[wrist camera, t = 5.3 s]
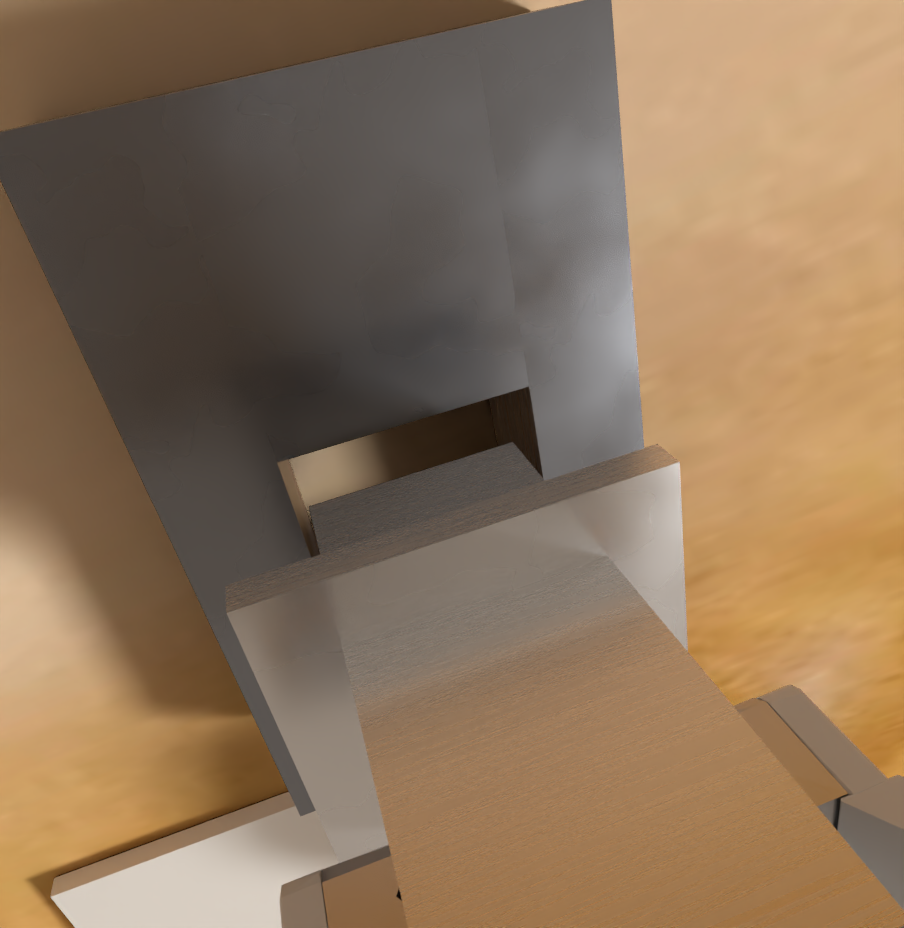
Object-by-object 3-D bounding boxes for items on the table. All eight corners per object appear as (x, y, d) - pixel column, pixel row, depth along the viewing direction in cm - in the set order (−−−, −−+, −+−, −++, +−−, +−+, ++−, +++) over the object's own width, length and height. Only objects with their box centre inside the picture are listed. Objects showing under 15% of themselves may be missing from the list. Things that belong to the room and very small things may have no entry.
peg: (322, 721, 16) (440, 1376, 8) (220, 470, 13) (245, 1137, 5) (595, 622, 17) (945, 1117, 9) (563, 367, 14) (1063, 775, 6)
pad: (179, 1037, 27) (178, 1055, 27) (54, 878, 22) (50, 897, 22) (442, 929, 29) (445, 945, 28) (379, 758, 24) (382, 773, 23)
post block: (288, 714, 22) (300, 816, 19) (30, 124, 14) (-20, 136, 11) (603, 603, 23) (661, 681, 20) (533, 11, 15) (611, -6, 12)
